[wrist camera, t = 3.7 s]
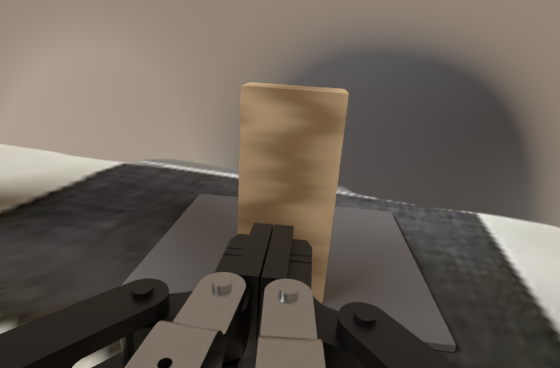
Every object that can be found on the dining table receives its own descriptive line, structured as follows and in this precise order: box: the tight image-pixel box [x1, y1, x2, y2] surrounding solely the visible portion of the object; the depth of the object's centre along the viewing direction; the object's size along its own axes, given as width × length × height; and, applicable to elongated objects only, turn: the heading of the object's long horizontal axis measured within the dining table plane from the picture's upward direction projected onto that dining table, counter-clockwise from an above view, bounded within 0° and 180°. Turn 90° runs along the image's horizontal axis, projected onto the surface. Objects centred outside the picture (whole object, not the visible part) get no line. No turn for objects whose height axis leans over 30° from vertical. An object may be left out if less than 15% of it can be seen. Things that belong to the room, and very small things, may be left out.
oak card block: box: [237, 82, 349, 304], centre depth 24 cm, size 6×3×14 cm, turn 84°
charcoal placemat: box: [121, 194, 456, 352], centre depth 32 cm, size 22×20×1 cm
